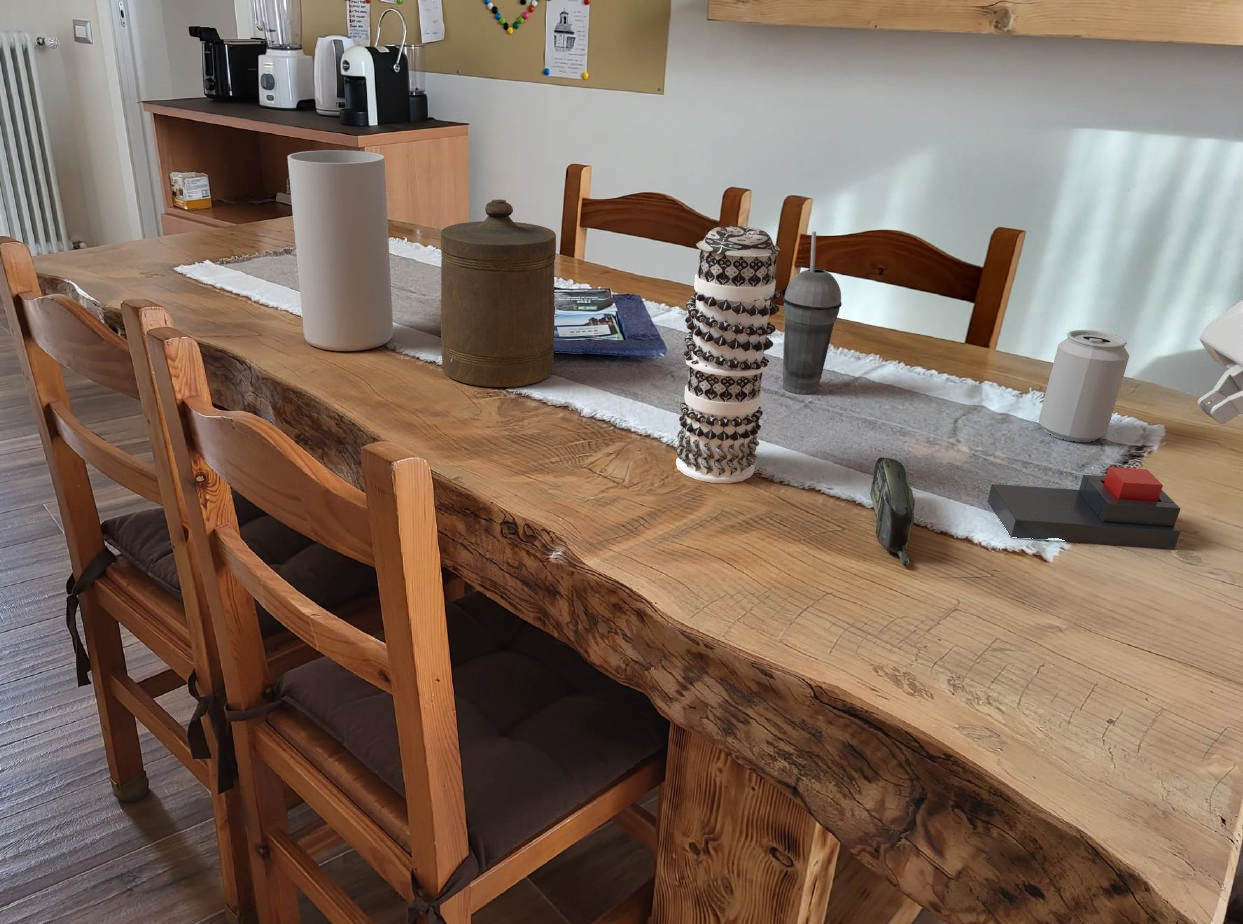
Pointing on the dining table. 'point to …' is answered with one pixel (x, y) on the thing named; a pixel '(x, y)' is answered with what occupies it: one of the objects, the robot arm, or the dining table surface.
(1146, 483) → the red rectangular button
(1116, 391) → the can
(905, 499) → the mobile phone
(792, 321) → the beverage cup
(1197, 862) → the dining table surface
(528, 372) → the wooden container
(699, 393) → the decorative candle
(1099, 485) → the dark grey stepped block
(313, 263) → the cylinder vase
